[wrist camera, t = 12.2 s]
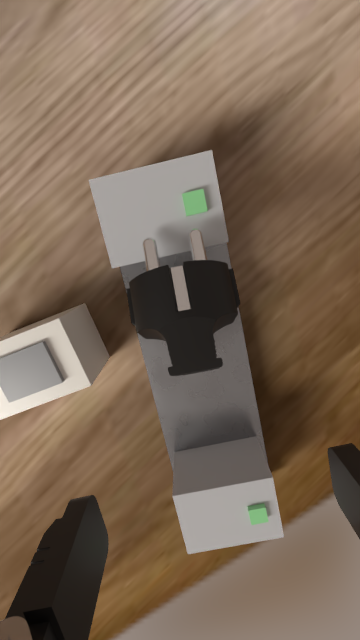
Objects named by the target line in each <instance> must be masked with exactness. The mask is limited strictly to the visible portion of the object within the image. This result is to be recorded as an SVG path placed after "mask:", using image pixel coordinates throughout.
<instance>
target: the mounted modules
mask: <svg viewBox="0 0 360 640" xmlns="http://www.w3.org/2000/svg"><path fill="white" fill-rule="evenodd" d="M89 183H90V187H91V191H92V195H93V198H94V202H95V206H96V210H97V213H98V217H99V221H100V225H101V229H102V232H103V236H104V240H105V244H106V247H107V251H108V255H109V259H110V262H111V266H112V268H116V267H121V266H125V265H129V264H134V263H138V262H143V261H145V258H144V252H143V246H142V242H143V240H144V239H146V238H148V237H150V238H153V239H154V240H155V241H156V245H157V250H158V256H159V258H160V257H164V256H169V255H173V254H178V253H182V252H186V251H191V249H190V243H189V238H188V233H189V231H190V230H192V229H194V228H196V229H199V230H200V231H201V232H202V236H203V241H204V246H205V247H208V246H213V245H217V244H222V243H226V242H229V239H228V234H227V228H226V223H225V218H224V212H223V207H222V201H221V196H220V191H219V185H218V180H217V175H216V169H215V164H214V158H213V153H212V150H209V151H205V152H201V153H197V154H193V155H189V156H185V157H181V158H177V159H172V160H168V161H164V162H160V163H156V164H152V165H148V166H144V167H140V168H136V169H131V170H127V171H123V172H119V173H115V174H111V175H107V176H103V177H99V178H94V179H90V180H89ZM173 500H174V503H175V507H176V511H177V515H178V518H179V522H180V526H181V530H182V534H183V537H184V541H185V545H186V549H187V552H188V554H192V553H197V552H203V551H208V550H214V549H220V548H225V547H231V546H237V545H242V544H248V543H254V542H259V541H265V540H270V539H276V538H282V537H284V535H283V530H282V524H281V519H280V513H279V508H278V503H277V497H276V492H275V487H274V481H273V477H272V474H271V472H270V469H269V466H268V464H267V461H266V459H265V456H264V454H263V451H262V449H261V446H260V443H259V441H258V438H257V436H255V437H250V438H245V439H239V440H234V441H229V442H224V443H219V444H214V445H209V446H204V447H198V448H193V449H188V450H183V451H178V452H174V472H173Z"/></svg>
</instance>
